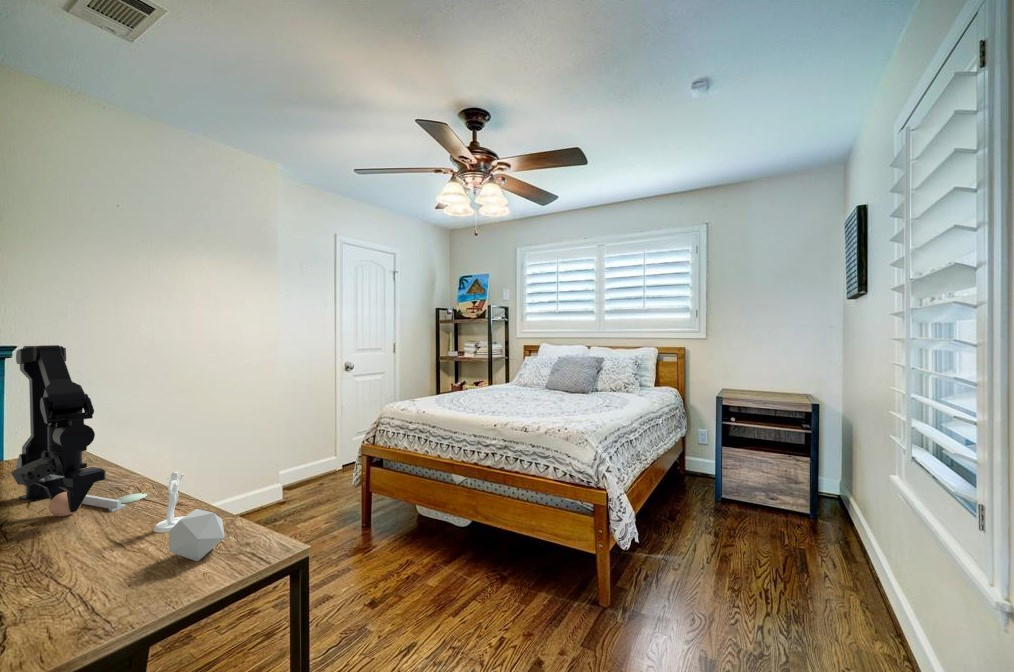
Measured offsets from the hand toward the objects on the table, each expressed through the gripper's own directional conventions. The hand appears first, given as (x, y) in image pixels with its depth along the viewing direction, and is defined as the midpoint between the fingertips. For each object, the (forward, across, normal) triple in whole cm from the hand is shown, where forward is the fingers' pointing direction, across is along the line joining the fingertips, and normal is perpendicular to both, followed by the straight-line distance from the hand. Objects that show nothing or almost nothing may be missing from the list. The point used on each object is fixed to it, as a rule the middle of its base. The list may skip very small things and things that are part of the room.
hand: (65, 510), depth 103 cm
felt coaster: (+1, +3, +12) cm, 12 cm away
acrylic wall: (+1, 0, +6) cm, 6 cm away
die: (+1, +48, -4) cm, 48 cm away
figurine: (+1, +30, +4) cm, 30 cm away
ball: (+1, 0, 0) cm, 1 cm away
